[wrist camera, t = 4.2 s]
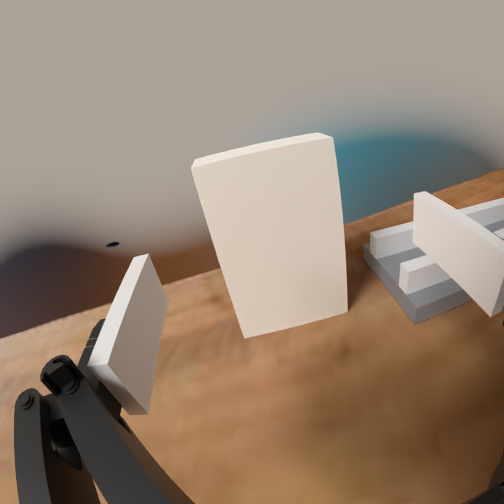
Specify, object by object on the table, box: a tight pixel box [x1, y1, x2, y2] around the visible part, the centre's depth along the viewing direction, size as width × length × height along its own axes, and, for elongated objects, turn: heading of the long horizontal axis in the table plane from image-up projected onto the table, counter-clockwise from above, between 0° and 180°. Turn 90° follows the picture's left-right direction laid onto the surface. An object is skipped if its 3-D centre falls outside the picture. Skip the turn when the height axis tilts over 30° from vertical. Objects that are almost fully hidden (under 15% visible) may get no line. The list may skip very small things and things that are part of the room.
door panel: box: [191, 132, 348, 338], centre depth 25 cm, size 10×4×16 cm, turn 97°
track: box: [363, 198, 504, 325], centre depth 27 cm, size 24×12×4 cm, turn 97°
